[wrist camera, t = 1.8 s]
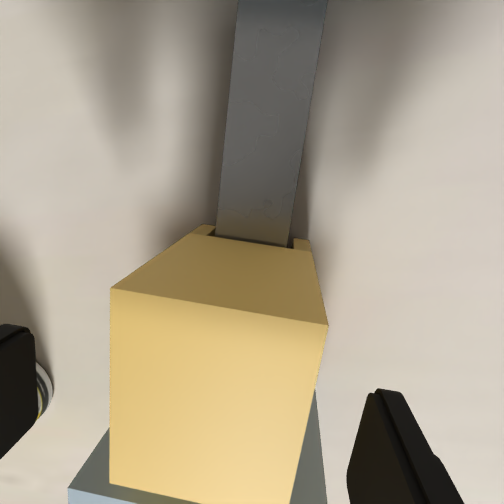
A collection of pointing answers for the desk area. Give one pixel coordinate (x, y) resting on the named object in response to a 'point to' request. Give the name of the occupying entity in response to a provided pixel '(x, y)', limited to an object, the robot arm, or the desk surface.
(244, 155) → the rail
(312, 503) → the frame
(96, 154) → the desk surface
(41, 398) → the supplement bottle
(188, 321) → the block
